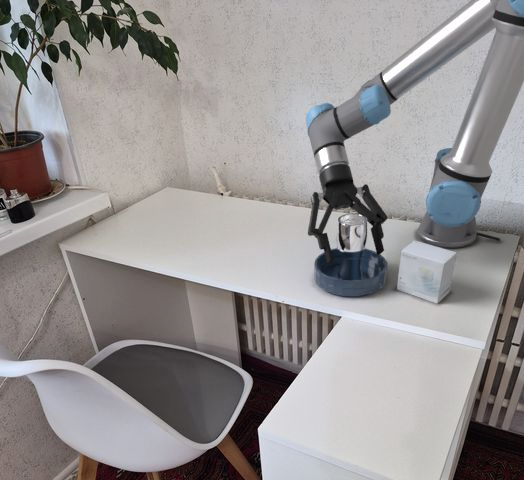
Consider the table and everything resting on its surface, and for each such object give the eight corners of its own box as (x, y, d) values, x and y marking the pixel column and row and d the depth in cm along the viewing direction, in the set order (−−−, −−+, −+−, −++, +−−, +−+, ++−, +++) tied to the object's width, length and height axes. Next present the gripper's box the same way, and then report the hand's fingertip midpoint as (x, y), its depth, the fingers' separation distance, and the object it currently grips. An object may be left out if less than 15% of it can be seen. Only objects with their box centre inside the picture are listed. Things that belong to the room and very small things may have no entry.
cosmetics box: (395, 290, 119) (400, 249, 113) (409, 279, 123) (414, 239, 117) (437, 304, 114) (444, 262, 107) (450, 292, 117) (458, 251, 111)
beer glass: (363, 285, 121) (367, 226, 112) (333, 283, 122) (335, 225, 113) (364, 270, 126) (368, 213, 117) (336, 269, 128) (338, 212, 118)
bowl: (385, 264, 130) (387, 248, 127) (385, 300, 116) (387, 283, 114) (318, 261, 133) (318, 245, 130) (310, 296, 119) (310, 279, 117)
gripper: (375, 171, 126) (397, 253, 124) (282, 185, 122) (302, 270, 120) (387, 155, 119) (410, 243, 116) (288, 169, 115) (309, 260, 112)
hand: (355, 257), depth 118 cm, fingers open, 12 cm apart
